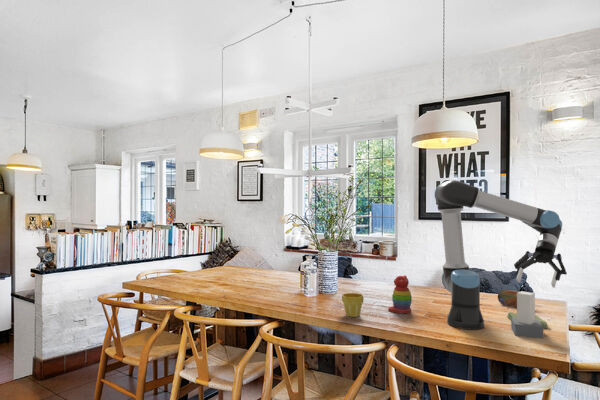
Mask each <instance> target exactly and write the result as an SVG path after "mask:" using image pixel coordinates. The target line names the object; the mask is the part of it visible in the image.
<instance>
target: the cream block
mask: <svg viewBox="0 0 600 400" xmlns="http://www.w3.org/2000/svg"><path fill="white" fill-rule="evenodd" d="M535 300H536V292H530V291H522V290H521V291H520V292H518V293H517V308H516V313H517V322H520V323H525V324H532V323H534V322H535V315H536V301H535Z"/></svg>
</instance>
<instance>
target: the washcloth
mask: <svg viewBox="0 0 600 400" xmlns="http://www.w3.org/2000/svg"><path fill="white" fill-rule="evenodd" d="M506 317H507V318H508V319H509V321H511V318H517V312H511V311H509V312H508V313H507V316H506ZM535 320H538V321H539V322H540V323H541V324H542V326H543V329H547V328H548V327H549V325H548V322H547V321H546V320H544V319H543V318H541V317H539V315H537V314H535Z"/></svg>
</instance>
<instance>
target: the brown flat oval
mask: <svg viewBox="0 0 600 400" xmlns="http://www.w3.org/2000/svg"><path fill="white" fill-rule="evenodd" d="M518 292H521V291H518V290H511V289H502V290H500V291H499V292H498V294H497V299H498V302H499V303H500V304H501V305H503V306H505V307H511V308H515V309H517V293H518Z"/></svg>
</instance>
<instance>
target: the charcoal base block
mask: <svg viewBox="0 0 600 400" xmlns="http://www.w3.org/2000/svg"><path fill="white" fill-rule="evenodd" d="M510 323H511V324H510V325H511V326H510V328H511V331H512V332H513V335H514V336H516V337H517V336H518V337H525V338H526V337H527V338H534V339H535V338H537V339H544V328H543V326H542V324H541V323H540V322H539V321H538V320H535V322H534V323H532V324H525V323H520V322H517V318H511V320H510Z"/></svg>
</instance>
